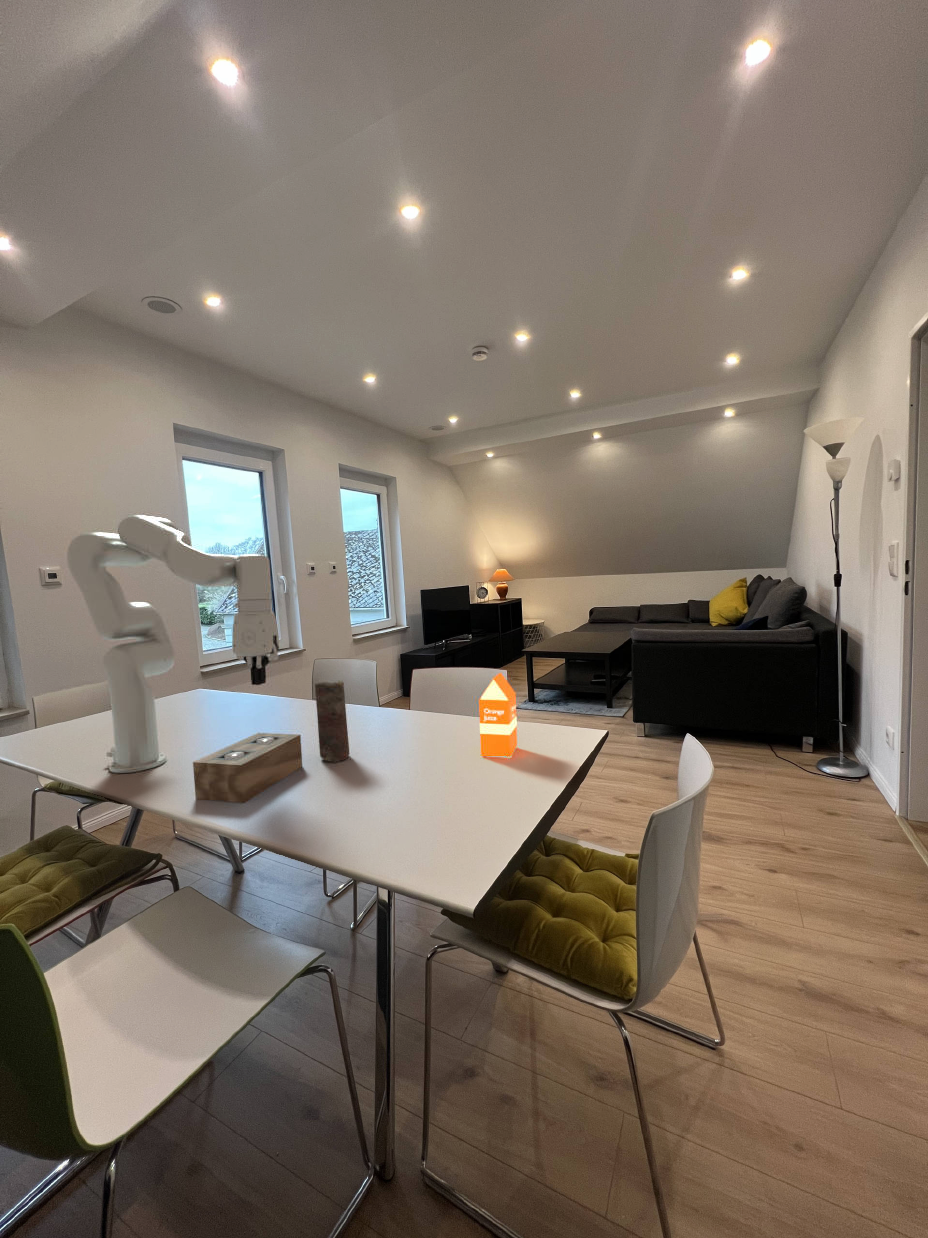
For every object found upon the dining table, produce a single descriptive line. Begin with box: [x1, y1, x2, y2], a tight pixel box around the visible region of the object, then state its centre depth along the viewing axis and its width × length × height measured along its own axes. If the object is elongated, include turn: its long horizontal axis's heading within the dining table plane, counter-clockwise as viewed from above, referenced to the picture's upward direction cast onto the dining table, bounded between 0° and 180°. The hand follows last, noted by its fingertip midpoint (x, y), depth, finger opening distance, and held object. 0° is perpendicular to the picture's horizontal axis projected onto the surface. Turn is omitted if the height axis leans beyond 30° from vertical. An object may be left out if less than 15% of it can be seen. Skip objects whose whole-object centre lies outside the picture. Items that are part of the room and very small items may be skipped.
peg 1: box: [224, 752, 244, 759], centre depth 118 cm, size 4×4×7 cm
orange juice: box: [478, 672, 518, 757], centre depth 137 cm, size 8×9×20 cm
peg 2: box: [257, 737, 274, 744], centre depth 128 cm, size 4×4×7 cm
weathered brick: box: [314, 680, 350, 763], centre depth 137 cm, size 8×7×20 cm
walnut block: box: [192, 732, 303, 804], centre depth 123 cm, size 12×22×8 cm, turn 165°
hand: (258, 683), depth 128 cm, fingers closed
